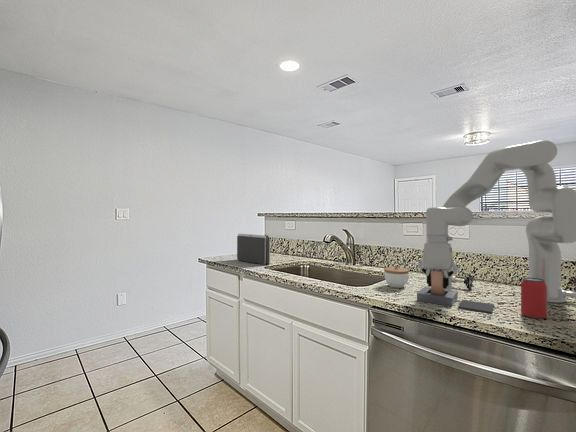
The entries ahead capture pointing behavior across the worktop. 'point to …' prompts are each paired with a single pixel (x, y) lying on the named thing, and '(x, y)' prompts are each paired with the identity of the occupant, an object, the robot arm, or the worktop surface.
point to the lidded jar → (396, 276)
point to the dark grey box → (253, 248)
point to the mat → (476, 306)
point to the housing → (437, 297)
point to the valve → (466, 281)
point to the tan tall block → (437, 282)
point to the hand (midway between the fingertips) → (437, 286)
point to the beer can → (534, 298)
